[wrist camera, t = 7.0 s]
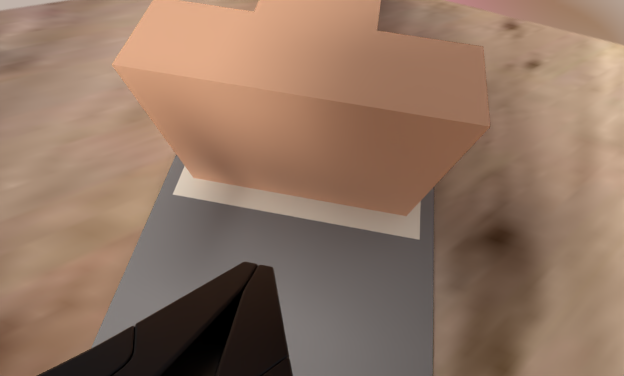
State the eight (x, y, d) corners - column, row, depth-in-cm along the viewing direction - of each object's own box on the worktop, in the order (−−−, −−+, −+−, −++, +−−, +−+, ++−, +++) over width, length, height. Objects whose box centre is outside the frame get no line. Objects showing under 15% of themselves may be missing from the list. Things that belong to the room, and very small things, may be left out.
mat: (428, 426, 13) (432, 429, 12) (93, 355, 13) (87, 355, 13) (432, 64, 22) (435, 59, 21) (232, 33, 22) (231, 28, 22)
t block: (406, 216, 16) (490, 126, 9) (193, 177, 17) (111, 64, 10) (413, 64, 21) (472, -73, 14) (248, 38, 22) (221, -107, 14)
